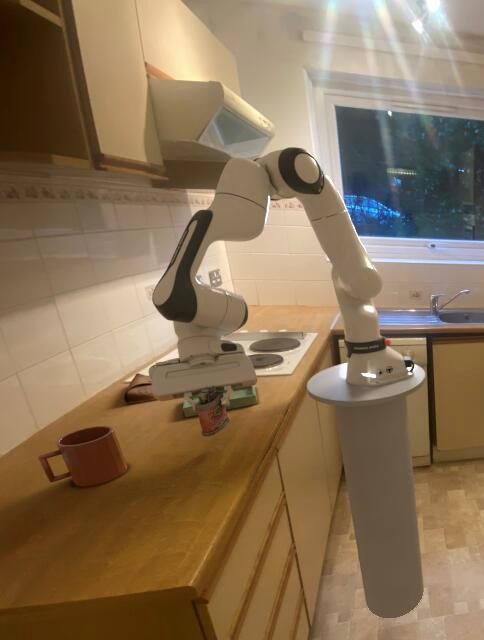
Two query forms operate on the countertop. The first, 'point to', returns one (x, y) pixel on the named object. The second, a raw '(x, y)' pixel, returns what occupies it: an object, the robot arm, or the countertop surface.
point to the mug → (88, 456)
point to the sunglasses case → (139, 390)
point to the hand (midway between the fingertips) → (212, 408)
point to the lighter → (211, 411)
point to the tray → (238, 399)
